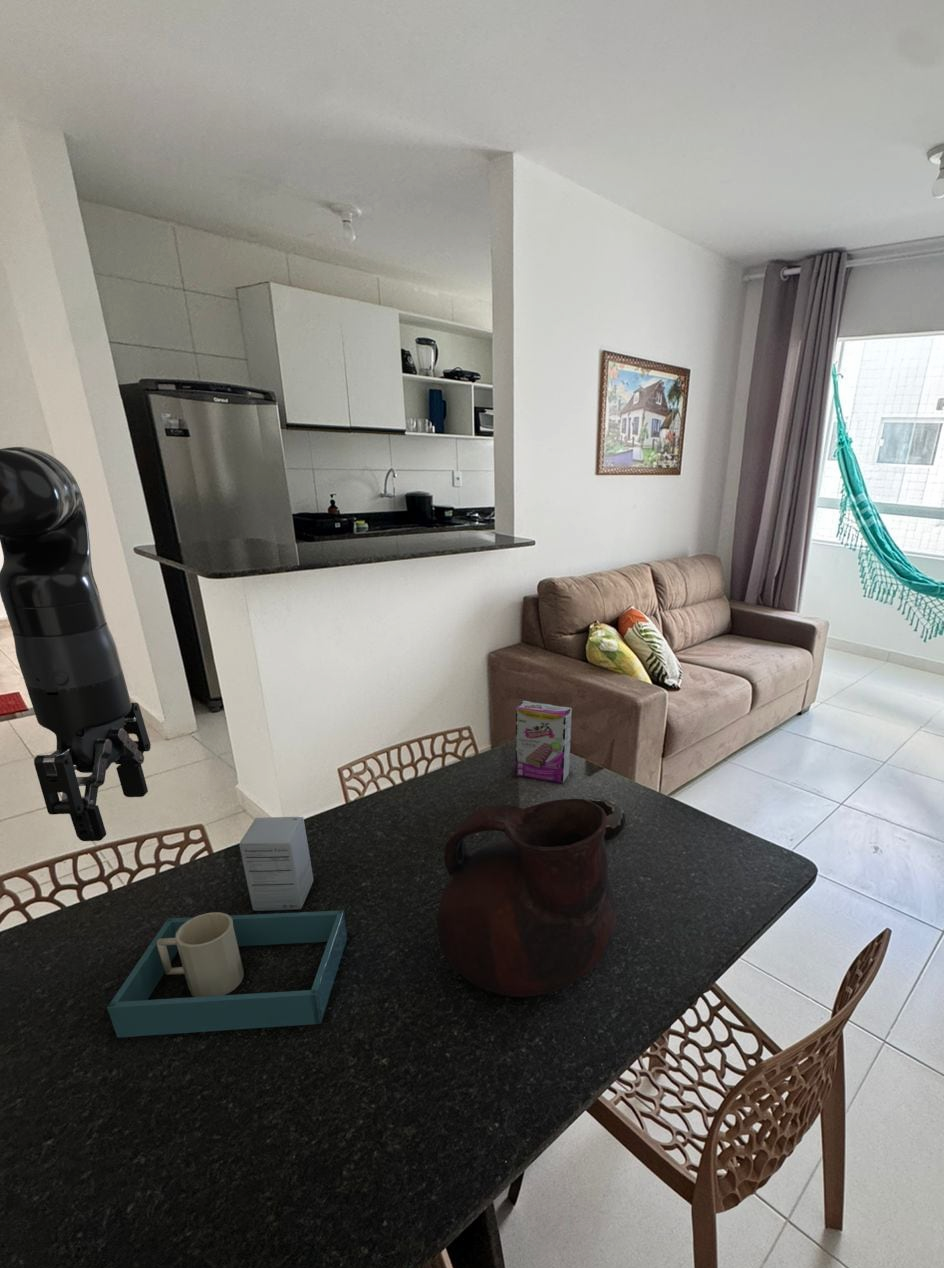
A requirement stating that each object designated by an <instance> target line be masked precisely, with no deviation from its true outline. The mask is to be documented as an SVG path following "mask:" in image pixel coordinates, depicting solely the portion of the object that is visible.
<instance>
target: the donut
mask: <svg viewBox="0 0 944 1268" xmlns="http://www.w3.org/2000/svg"><path fill="white" fill-rule="evenodd" d="M583 799H584V800H588V801H590V802H592V803H594V804H596V805H598V806H599V807H601V808H602V809H603V810H604V811H605V813H606V816H607V825H606V829H605V833H604V841H605V840H608V839H612V838H613V837H616V836H617V835H619V834H620V833H621V832H622V831H623V829H624V827H625V825H626V822H627V821H626V820H627V819H626V813H625V811H624V810H623V808H622V807H621V806H620V805H618V804H617V803H616V802H614V801H612V800H610V799H606V798H603V797H585V798H583Z"/></svg>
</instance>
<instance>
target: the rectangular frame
mask: <svg viewBox="0 0 944 1268" xmlns="http://www.w3.org/2000/svg"><path fill="white" fill-rule="evenodd" d="M229 916H230V917H231V918H232V920H233V924H234V929H235V933H236V938H237V942H238V947H253V946H272V945H273V946H274V945H291V944H292V945H293V944H309V943H310V944H311V943H313V944H314V943H326V945H325V948H324V950H323V951H324V952H323V954H322V957H321V960H320V963H319V965H318V969H317V972H316V975H315V978H314V981H313V984H312V986H311V989H304V990H303V989H302V990H291V991H289V990H288V991H271V992H256V993H242V994H241V993H240V994H226V995H222V996H206V997H193V996H190V997H175V998H159V999H150V997H151V995H152V993H153V992H154V991H155V989H156V987H157V985H158V984H159V982H160V980H161V979H162V978H163V976H164V974H165V972H164V968H163V965H162V961H161V958H160V954H159V951H158V947H157V944H156V942H157V940H158V939H160V938H176V932H177V931H178V929H179V928H180V926H182V925H183V924H184V923H186V922H187V921H188V920H190V919H192V918H194V917H195V916H194V917H190V916H189V917H168V918H167V919H166V921H164V924H163V925H162V926H161V927H160V929H159V931H158V932H157V934H156V935H155V936H154V938H153V939H152V941H151V942H150V944H149V945H148V946H147V948H146V950H145V951H144V952H143V954H142V955H141V957H140V959H139V960H138V961H137V963H136V964H135V966H134V967H133V969H132V970H131V971H130V973H129V975H128V976H127V978H126V979H125V980H124V982H123V983H122V985H121V986H120V988H119V989H118V991H116V994H115V995H114V997H113V998H112V1000H111V1001H110V1003H109V1004H108V1005H107V1007H106V1008H107V1011H108V1015H109V1018H110V1020H111V1024H112V1026H113V1029H114V1032H115V1034H116V1038H119V1039H120V1038H133V1037H134V1038H135V1037H147V1036H148V1037H149V1036H163V1035H177V1034H189V1033H190V1034H192V1033H206V1032H207V1033H208V1032H219V1031H221V1032H222V1031H237V1030H250V1029H265V1028H278V1027H279V1028H280V1027H281V1028H282V1027H293V1026H308V1025H321V1024H322V1022H323V1018H324V1015H325V1012H326V1008H327V1006H328V1002H329V999H330V995H331V992H332V989H333V985H334V982H335V979H336V976H337V973H338V970H339V966H340V963H341V960H342V957H343V953H344V950H345V948H346V943H347V941H348V931H347V930H348V929H347V923H346V915H345V910H343V909H341V910H325V911H321V910H320V911H304V912H303V911H301V912H281V913H279V912H277V913H258V914H257V913H256V914H236V915H229ZM166 947H167V951H168V954H169V958H170V962H171V963H172V961H173V960H174V958H175V956H176V955H177V953H179V951H178V947H177V945H166Z"/></svg>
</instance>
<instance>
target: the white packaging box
mask: <svg viewBox="0 0 944 1268" xmlns="http://www.w3.org/2000/svg"><path fill="white" fill-rule="evenodd" d="M308 843H309V842H308V837H307V830H306V825H305V818H304V816H273V817H272V816H269V817H267V816H266V817H255V818H254V820H253V821H252V822H251V825H250V826H249V827H248V829H247V831H246V832H245V834H244V835H243V837H242V839H241V840H240V841H239V843H238V846H239V850H240V855H241V860H242V865H243V871H244V874H245V881H246V884H247V889H248V894H249V898H250V903H251V907H252V908H251V909H252V911H255V912H257V911H258V912H264V911H265V912H267V911H291V910H293V911H294V910H295V911H296V910H302V909H303V907H304V904H305V902H306V899H307V897H308V896H309V892H310V890H311V889H312V885H313V883H314V873H313V869H312V861H311V856H310V849H309V844H308Z"/></svg>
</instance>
